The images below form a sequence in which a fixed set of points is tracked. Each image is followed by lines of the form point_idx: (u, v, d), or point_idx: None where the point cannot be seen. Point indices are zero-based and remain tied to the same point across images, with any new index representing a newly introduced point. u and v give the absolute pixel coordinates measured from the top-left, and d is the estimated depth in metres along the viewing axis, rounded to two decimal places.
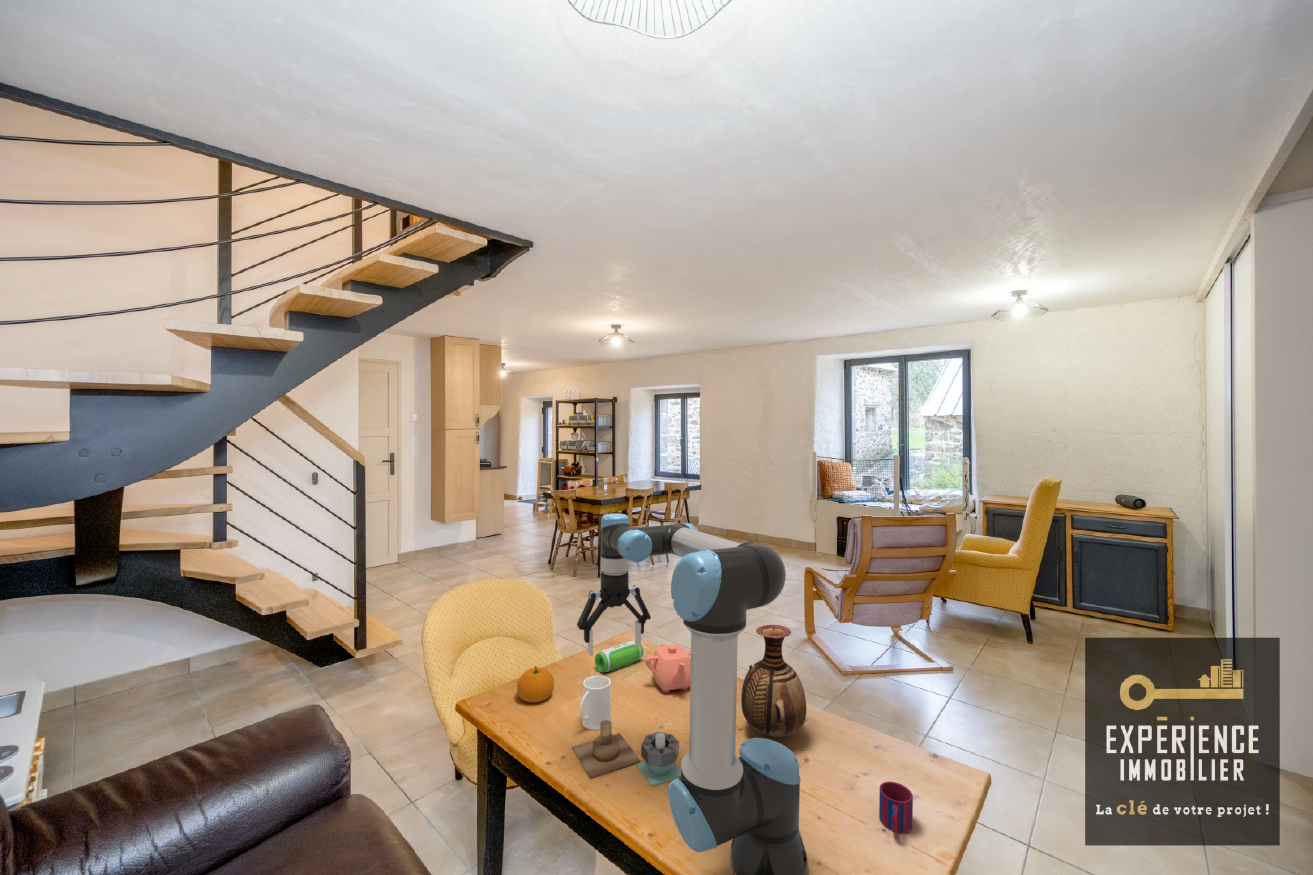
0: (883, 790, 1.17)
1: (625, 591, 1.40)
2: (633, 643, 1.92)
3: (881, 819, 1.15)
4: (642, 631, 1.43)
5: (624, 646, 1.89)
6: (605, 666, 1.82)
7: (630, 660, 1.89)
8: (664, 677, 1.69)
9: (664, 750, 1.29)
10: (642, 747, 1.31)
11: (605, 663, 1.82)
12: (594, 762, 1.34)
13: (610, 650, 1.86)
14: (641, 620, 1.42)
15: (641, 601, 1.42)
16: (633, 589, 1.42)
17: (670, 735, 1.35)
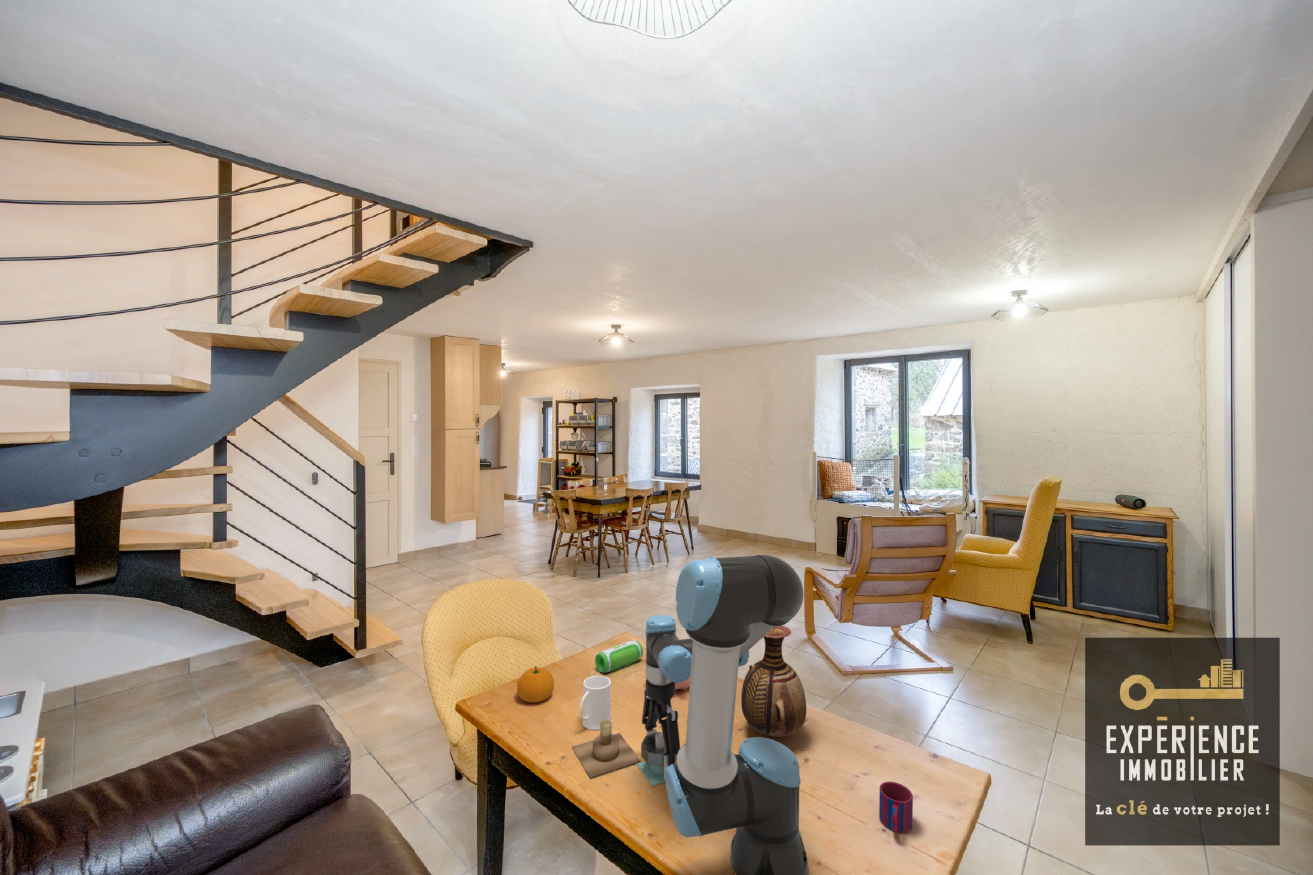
0: (883, 790, 1.17)
1: (661, 705, 1.29)
2: (633, 643, 1.92)
3: (881, 819, 1.15)
4: (669, 764, 1.26)
5: (624, 646, 1.89)
6: (606, 666, 1.82)
7: (630, 660, 1.89)
8: None
9: (664, 750, 1.29)
10: (642, 747, 1.31)
11: (606, 663, 1.82)
12: (594, 762, 1.34)
13: (610, 650, 1.86)
14: (666, 750, 1.26)
15: (668, 730, 1.25)
16: (669, 712, 1.27)
17: None
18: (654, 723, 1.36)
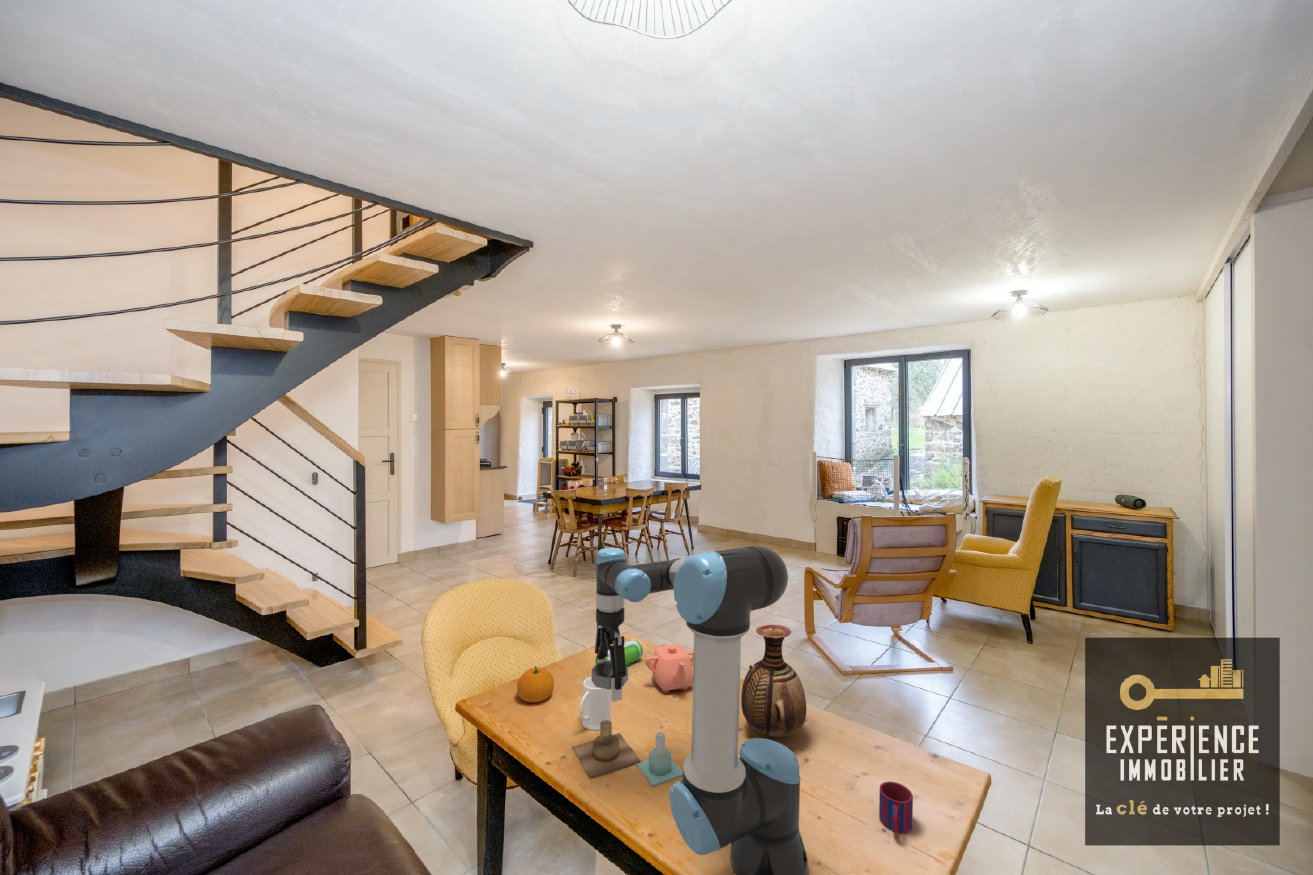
0: (883, 790, 1.17)
1: (610, 631, 1.34)
2: (633, 643, 1.93)
3: (881, 819, 1.15)
4: (615, 687, 1.32)
5: (624, 646, 1.89)
6: None
7: (630, 660, 1.89)
8: (664, 677, 1.69)
9: (612, 674, 1.35)
10: (592, 672, 1.37)
11: None
12: (594, 762, 1.34)
13: None
14: (613, 673, 1.32)
15: (615, 654, 1.31)
16: (616, 637, 1.32)
17: None
18: (605, 652, 1.42)
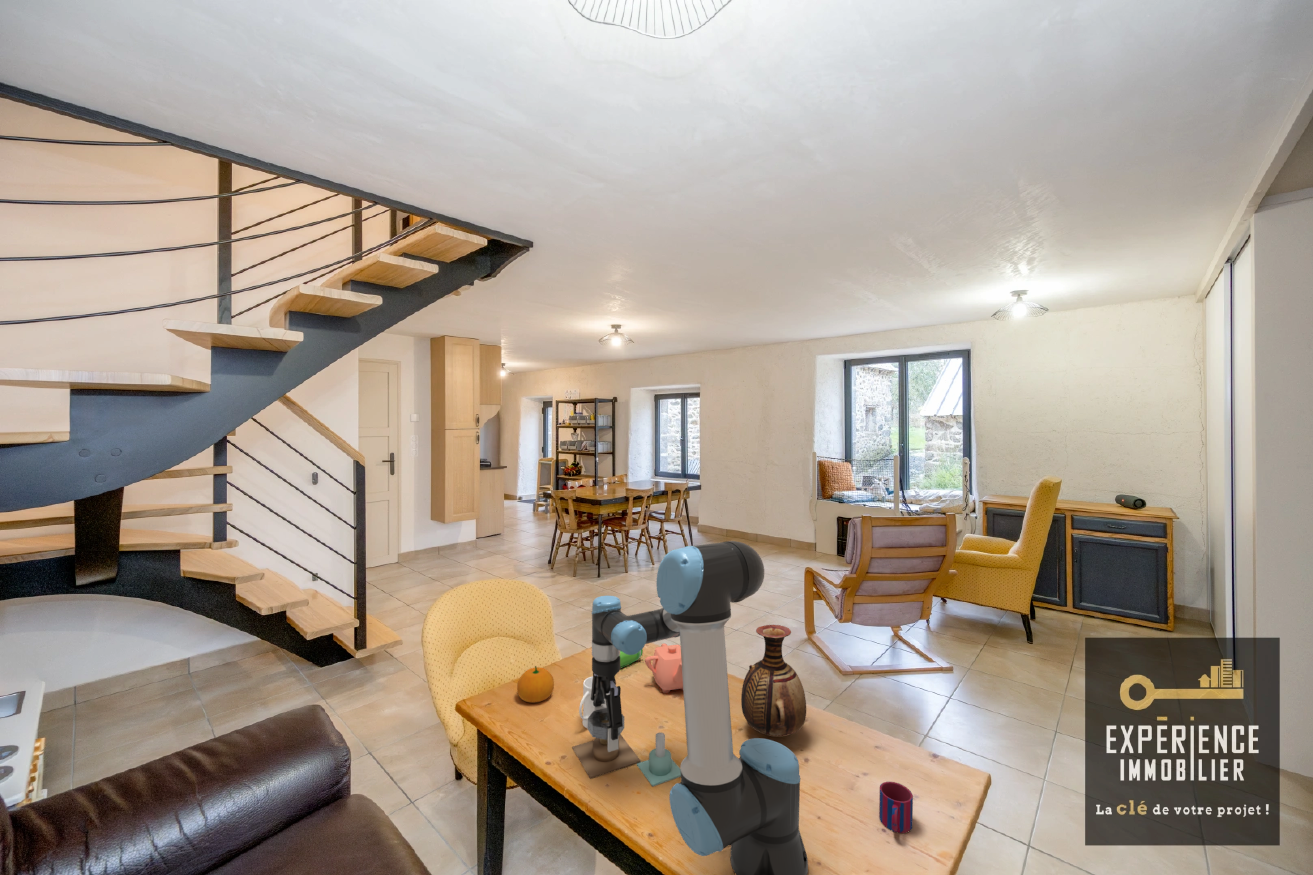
0: (883, 790, 1.17)
1: (606, 681, 1.35)
2: None
3: (881, 819, 1.15)
4: (612, 737, 1.32)
5: None
6: None
7: (630, 660, 1.89)
8: (664, 677, 1.69)
9: None
10: (588, 721, 1.37)
11: None
12: (594, 762, 1.34)
13: None
14: (609, 723, 1.32)
15: (611, 704, 1.31)
16: (612, 687, 1.33)
17: None
18: (602, 699, 1.42)
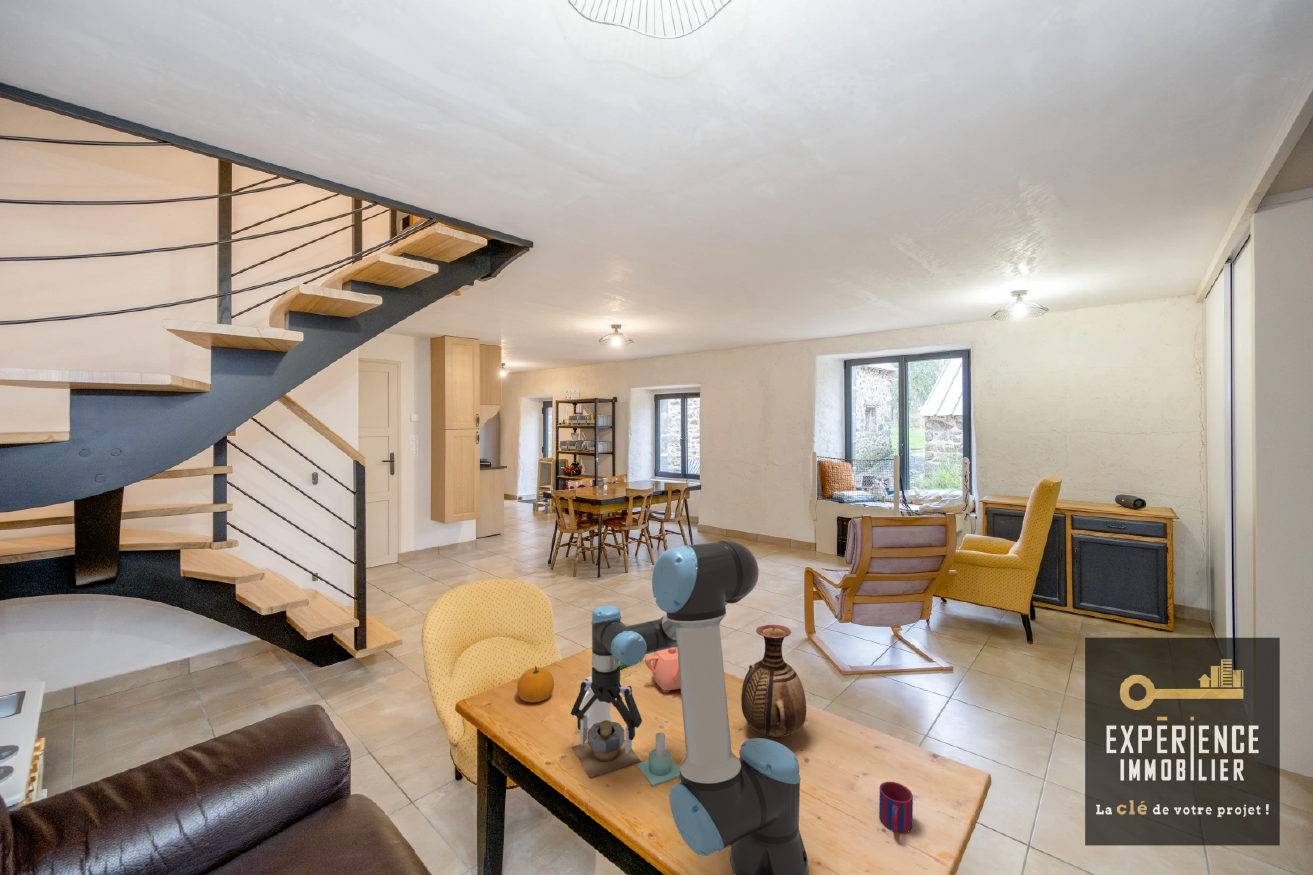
0: (883, 790, 1.17)
1: (614, 689, 1.36)
2: None
3: (881, 819, 1.15)
4: (631, 737, 1.35)
5: None
6: None
7: None
8: (664, 677, 1.69)
9: (615, 733, 1.37)
10: (595, 741, 1.34)
11: None
12: (594, 762, 1.34)
13: None
14: (628, 725, 1.35)
15: (629, 705, 1.34)
16: (624, 690, 1.36)
17: None
18: None
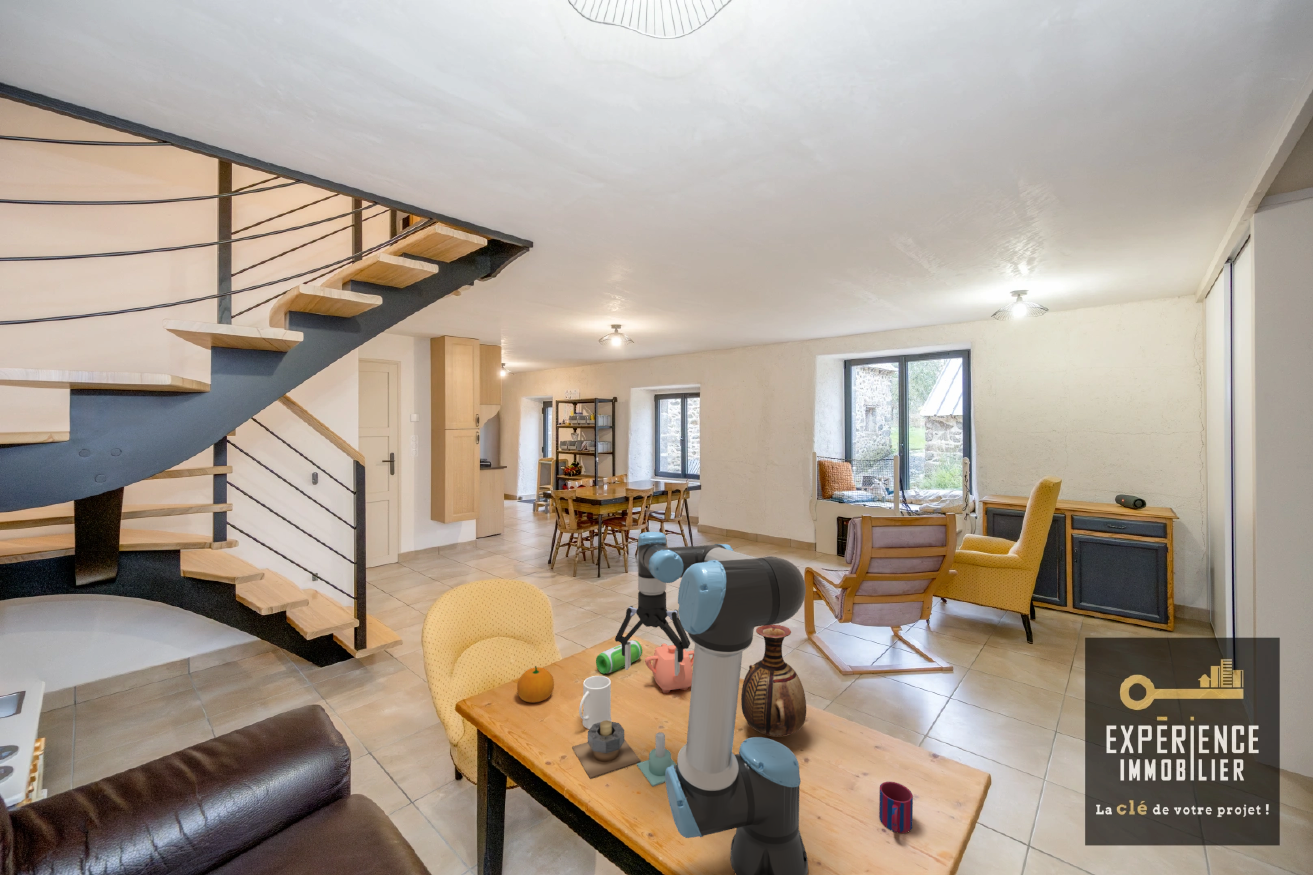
0: (883, 790, 1.17)
1: (661, 613, 1.36)
2: (632, 643, 1.93)
3: (881, 819, 1.15)
4: (680, 659, 1.35)
5: None
6: (608, 667, 1.81)
7: None
8: (664, 677, 1.69)
9: (615, 733, 1.37)
10: (595, 741, 1.34)
11: (608, 664, 1.81)
12: (594, 762, 1.34)
13: (611, 651, 1.85)
14: (678, 647, 1.35)
15: (678, 627, 1.35)
16: (671, 613, 1.36)
17: None
18: None
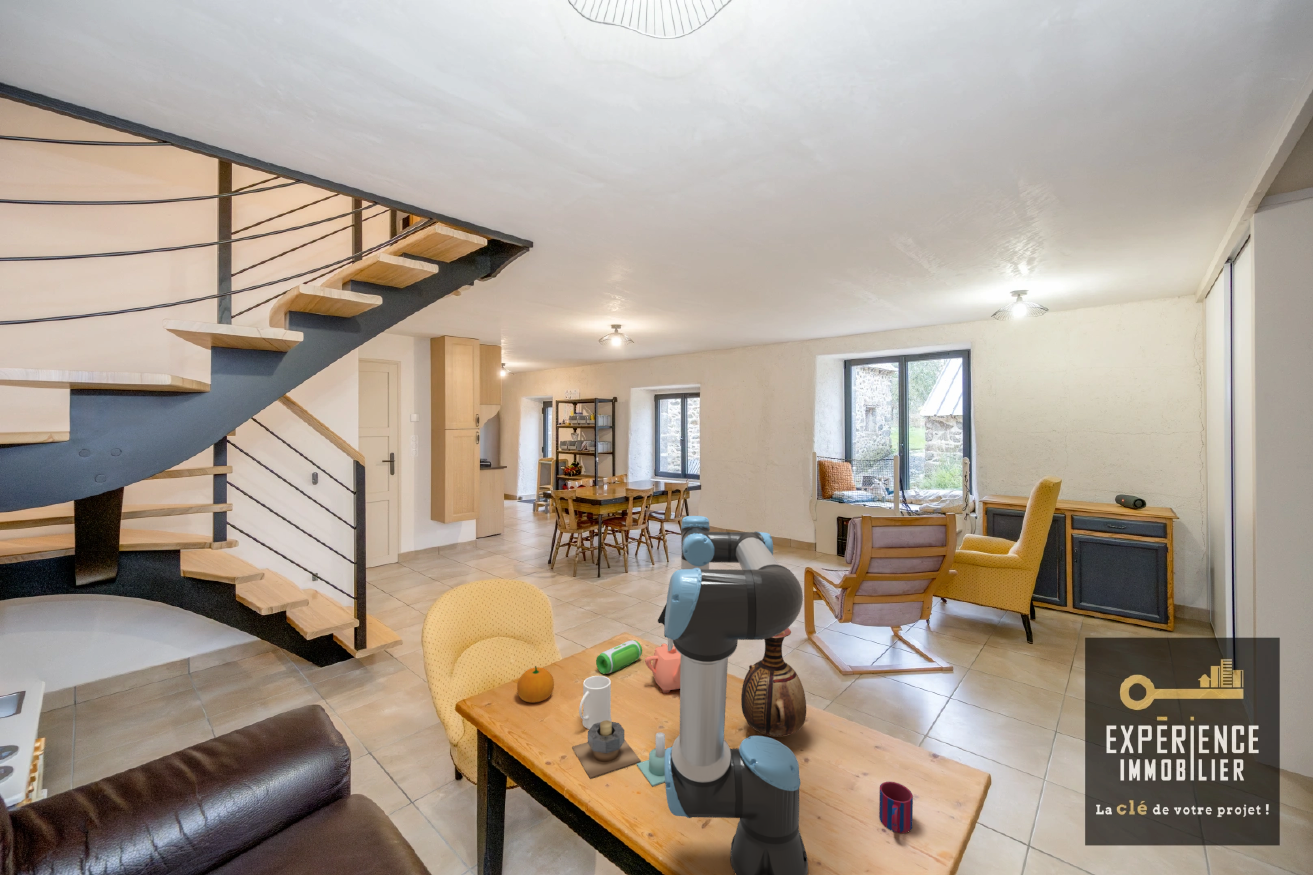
0: (883, 790, 1.17)
1: None
2: (632, 643, 1.93)
3: (881, 819, 1.15)
4: None
5: (624, 647, 1.89)
6: (608, 667, 1.81)
7: (630, 660, 1.89)
8: (664, 677, 1.69)
9: (615, 733, 1.37)
10: (595, 741, 1.34)
11: (608, 664, 1.81)
12: (594, 762, 1.34)
13: (611, 651, 1.85)
14: None
15: None
16: None
17: None
18: None
